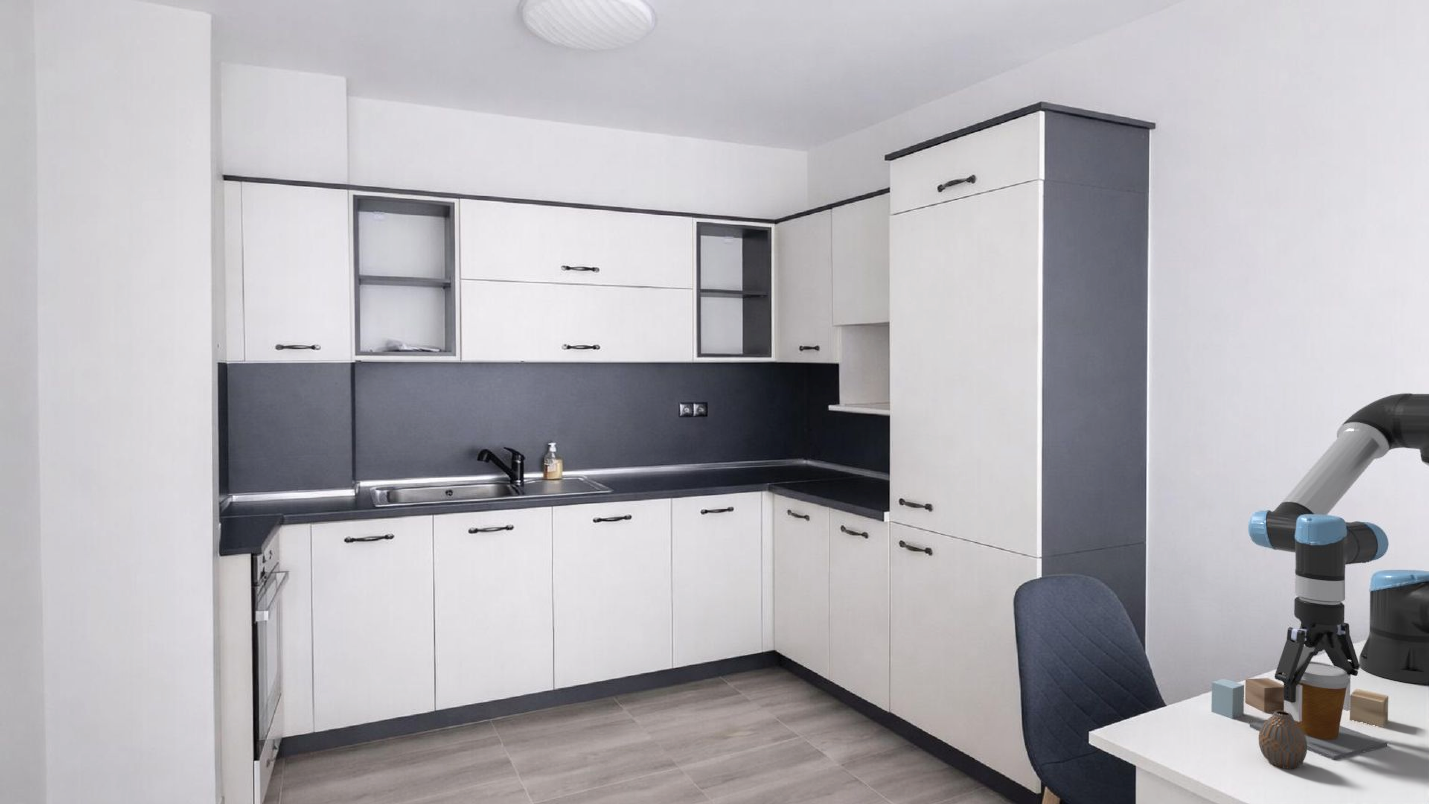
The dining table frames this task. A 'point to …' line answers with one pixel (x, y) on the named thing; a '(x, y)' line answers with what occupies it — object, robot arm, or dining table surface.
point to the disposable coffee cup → (1322, 700)
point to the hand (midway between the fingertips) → (1317, 713)
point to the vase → (1282, 740)
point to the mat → (1338, 743)
